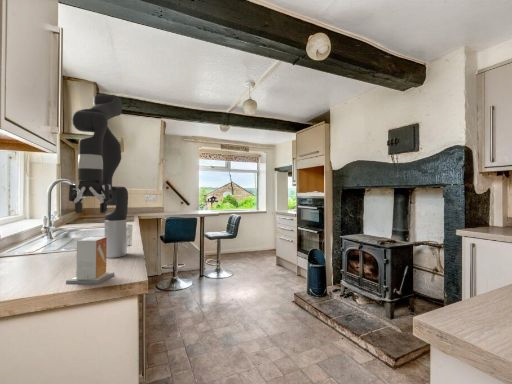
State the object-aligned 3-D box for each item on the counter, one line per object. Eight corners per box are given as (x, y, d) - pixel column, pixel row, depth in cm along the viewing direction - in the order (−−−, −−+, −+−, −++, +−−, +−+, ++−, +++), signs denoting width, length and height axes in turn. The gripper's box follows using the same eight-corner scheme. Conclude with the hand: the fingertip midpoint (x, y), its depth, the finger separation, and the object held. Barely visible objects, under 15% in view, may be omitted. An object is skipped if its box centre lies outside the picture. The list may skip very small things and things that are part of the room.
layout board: (84, 274, 94) (84, 271, 94) (114, 275, 94) (114, 272, 94) (66, 283, 85) (66, 279, 85) (98, 283, 85) (98, 280, 85)
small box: (96, 279, 86) (96, 240, 86) (75, 280, 85) (75, 240, 85) (106, 271, 94) (107, 236, 94) (88, 272, 93) (88, 236, 93)
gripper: (116, 168, 95) (116, 212, 96) (78, 168, 96) (78, 212, 96) (104, 167, 88) (104, 214, 88) (63, 167, 88) (63, 214, 88)
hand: (91, 213), depth 92 cm, fingers open, 8 cm apart
